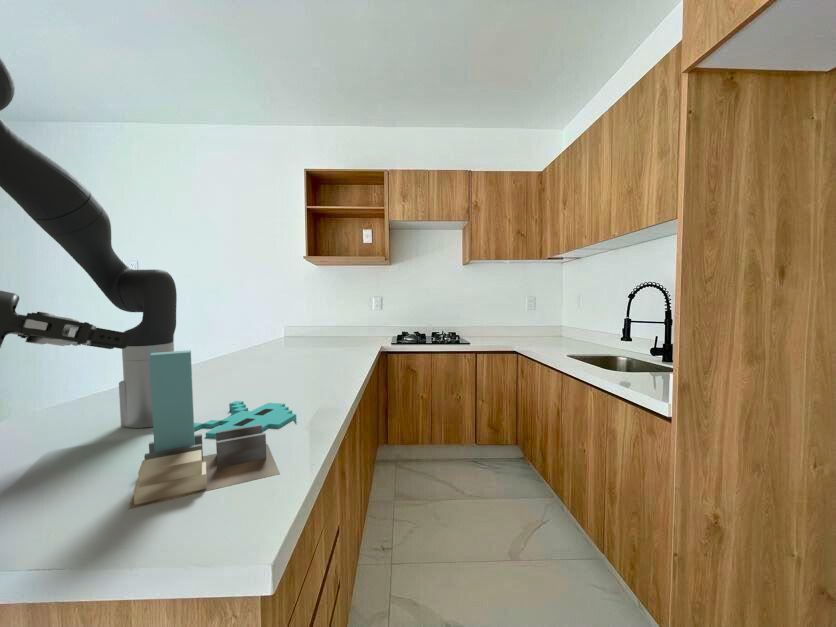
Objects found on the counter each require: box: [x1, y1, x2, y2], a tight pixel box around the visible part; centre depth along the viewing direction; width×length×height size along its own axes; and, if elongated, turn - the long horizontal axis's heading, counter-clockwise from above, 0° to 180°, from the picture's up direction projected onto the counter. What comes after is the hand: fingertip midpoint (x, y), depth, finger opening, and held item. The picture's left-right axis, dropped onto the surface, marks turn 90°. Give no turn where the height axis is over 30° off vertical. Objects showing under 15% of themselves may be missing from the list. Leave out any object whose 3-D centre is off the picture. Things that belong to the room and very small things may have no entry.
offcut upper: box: [137, 450, 202, 487], centre depth 52 cm, size 7×4×2 cm, turn 119°
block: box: [150, 349, 195, 452], centre depth 57 cm, size 5×2×18 cm, turn 120°
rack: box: [128, 424, 281, 510], centre depth 57 cm, size 18×13×5 cm
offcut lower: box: [133, 462, 207, 505], centre depth 52 cm, size 8×4×2 cm, turn 119°
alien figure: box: [194, 400, 297, 439], centre depth 80 cm, size 20×2×20 cm
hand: (121, 342), depth 55 cm, fingers open, 8 cm apart
